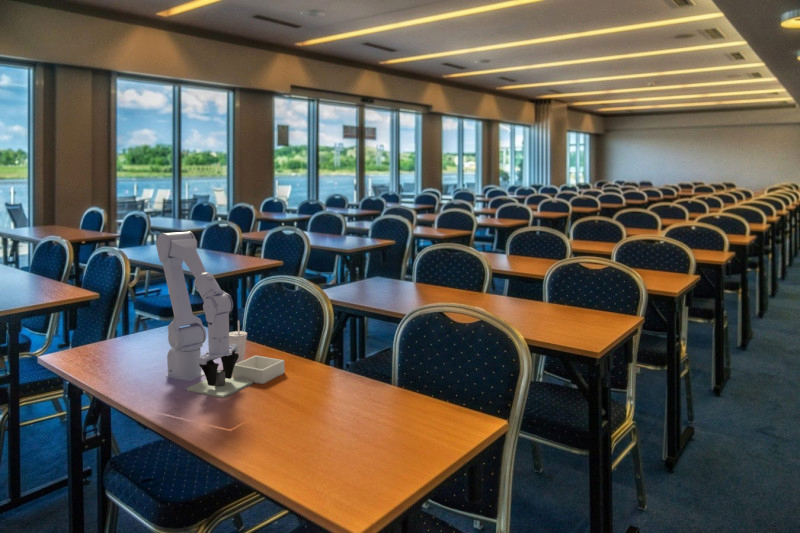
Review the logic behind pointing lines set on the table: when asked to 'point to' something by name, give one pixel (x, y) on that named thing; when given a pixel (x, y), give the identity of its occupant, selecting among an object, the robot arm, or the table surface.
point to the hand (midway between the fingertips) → (219, 381)
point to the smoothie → (238, 342)
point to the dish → (259, 369)
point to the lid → (220, 385)
